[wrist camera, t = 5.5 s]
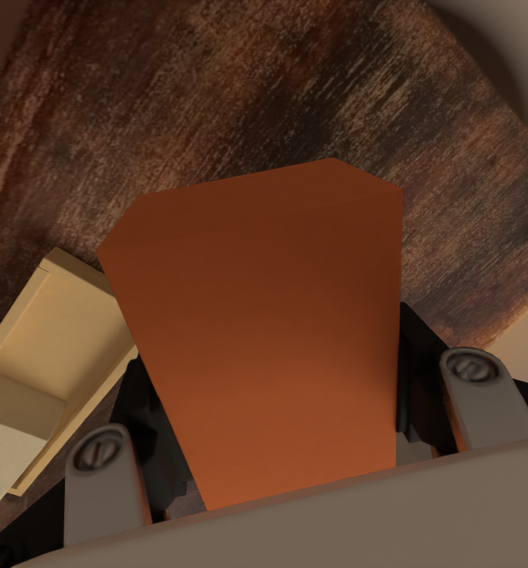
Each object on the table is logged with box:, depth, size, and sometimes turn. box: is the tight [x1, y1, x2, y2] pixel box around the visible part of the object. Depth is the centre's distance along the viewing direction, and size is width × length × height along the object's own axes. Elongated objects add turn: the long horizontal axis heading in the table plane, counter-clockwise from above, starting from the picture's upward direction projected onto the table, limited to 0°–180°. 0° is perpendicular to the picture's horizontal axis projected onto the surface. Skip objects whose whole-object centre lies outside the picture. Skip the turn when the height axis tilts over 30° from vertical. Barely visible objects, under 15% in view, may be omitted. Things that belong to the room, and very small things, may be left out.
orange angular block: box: [96, 157, 403, 511], centre depth 10 cm, size 10×6×4 cm, turn 9°
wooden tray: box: [0, 246, 139, 496], centre depth 29 cm, size 24×9×2 cm, turn 139°
